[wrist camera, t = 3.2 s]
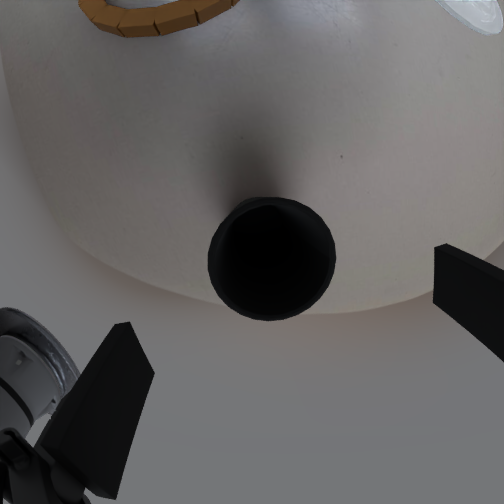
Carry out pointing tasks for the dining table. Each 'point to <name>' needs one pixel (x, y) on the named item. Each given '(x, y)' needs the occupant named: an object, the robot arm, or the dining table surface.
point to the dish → (476, 14)
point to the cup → (271, 258)
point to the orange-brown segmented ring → (152, 16)
